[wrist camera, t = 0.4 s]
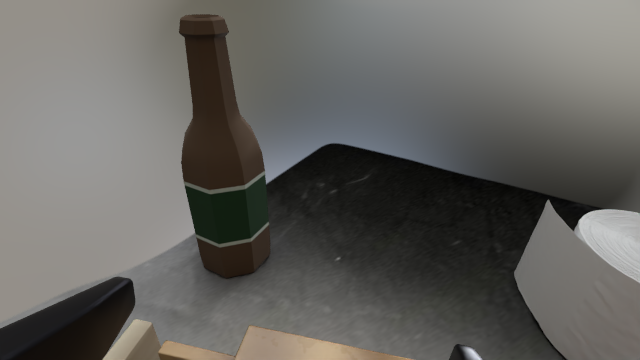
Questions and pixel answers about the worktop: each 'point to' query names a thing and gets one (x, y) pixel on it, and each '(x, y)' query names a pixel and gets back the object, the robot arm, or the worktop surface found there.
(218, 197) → the beer bottle
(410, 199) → the worktop surface
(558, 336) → the toilet tissue
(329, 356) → the cabinet
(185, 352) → the drawer
